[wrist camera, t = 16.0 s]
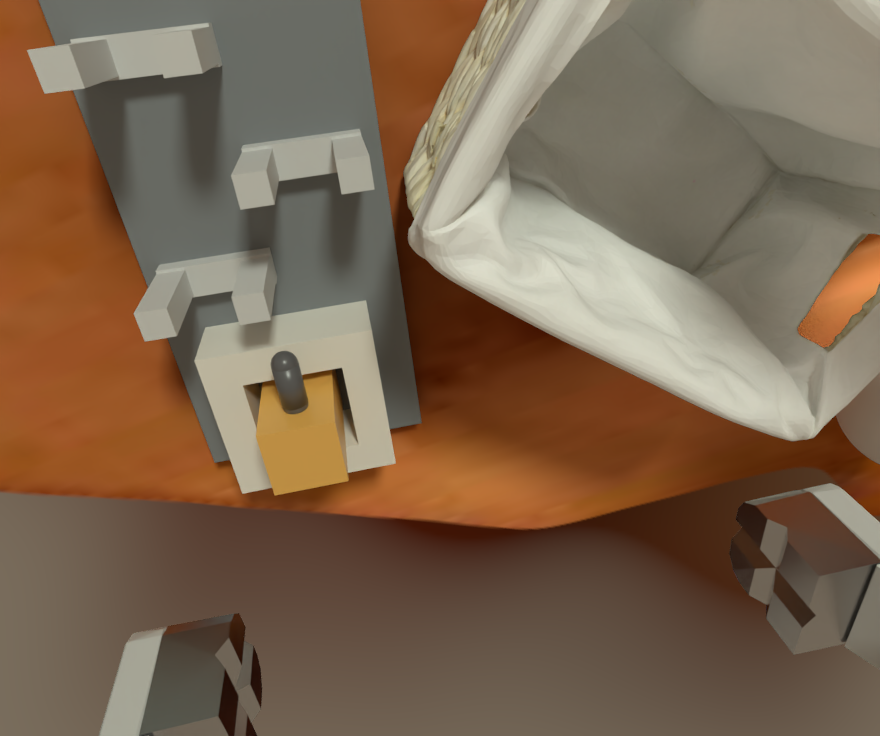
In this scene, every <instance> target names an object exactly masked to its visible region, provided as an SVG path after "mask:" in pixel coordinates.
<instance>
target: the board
mask: <svg viewBox="0 0 880 736" xmlns="http://www.w3.org/2000/svg"><path fill="white" fill-rule="evenodd" d="M39 3H40V5H41V8H42V10H43V13H44V16H45V18H46V21H47V24H48V26H49V29H50V31H51V34H52V37H53V39H54V42H55V45H56V46H51V47H44V48H38V49H31V50H27V51H28V54H29V56H30V59H31V61H32V64H33V66H34V69H35V71H36V74H37V76H38V79H39V81H40V83H41V86H42V88H43V91H44V93H45V94H46V93H53V92H61V91H69V90H73V92H74V94H75V97H76V100H77V102H78V105H79V108H80V110H81V113H82V115H83V118H84V121H85V123H86V126H87V129H88V131H89V134H90V136H91V139H92V142H93V144H94V147H95V149H96V152H97V155H98V157H99V160H100V163H101V165H102V168H103V170H104V173H105V176H106V178H107V181H108V184H109V186H110V189H111V191H112V194H113V197H114V199H115V202H116V205H117V207H118V210H119V212H120V215H121V218H122V220H123V223H124V226H125V228H126V231H127V233H128V236H129V239H130V241H131V244H132V247H133V249H134V252H135V254H136V257H137V260H138V262H139V265H140V268H141V270H142V273H143V275H144V278H145V281H146V283H147V286H148V289H147V291H146V293H145V295H144V296H143V298H142V300H141V302H140V303H139V305H138V307H137V309H136V310H135V312H134V316H135V318H136V321H137V323H138V326H139V328H140V331H141V333H142V336H143V338H144V341H151V340H157V339H163V338H168V341H169V344H170V346H171V349H172V351H173V354H174V357H175V359H176V362H177V365H178V367H179V370H180V372H181V375H182V378H183V380H184V383H185V386H186V388H187V391H188V393H189V396H190V399H191V401H192V404H193V407H194V409H195V412H196V414H197V417H198V420H199V422H200V425H201V427H202V430H203V433H204V435H205V438H206V441H207V443H208V446H209V448H210V451H211V454H212V456H213V459H214V462H215V463H216V462H221V461H227V460H230V461H231V463H232V466H233V469H234V472H235V474H236V477H237V480H238V483H239V485H240V488H241V491H242V494H244V493H249V492H254V491H259V490H264V489H269V488H272V486H271V483H270V479H269V476H268V473H267V470H266V467H265V464H264V461H263V458H262V455H261V452H260V449H259V446H258V442H257V439H256V430H257V422H258V415H259V407H260V399H261V391H262V383H263V382H265V381H271V380H274V377H273V373H272V370H271V365H270V364H271V359H272V357H273V356H274V355H275V354H276V353H278V352H280V351H289V352H291V353H293V354H294V355H295V356H296V357H297V359H298V362H299V366H300V370H301V374H302V375H304V374H309V373H315V372H321V371H326V370H332V369H335V371H336V375H337V380H338V384H339V389H340V393H341V398H342V404H343V416H344V429H345V441H346V453H347V466H348V473H350V472H355V471H360V470H365V469H370V468H375V467H380V466H385V465H390V464H395V463H396V462H395V456H394V451H393V445H392V440H391V434H390V429H393V428H399V427H404V426H409V425H414V424H419V423H422V422H421V415H420V408H419V401H418V394H417V388H416V381H415V374H414V367H413V360H412V353H411V346H410V340H409V333H408V326H407V319H406V312H405V305H404V298H403V292H402V285H401V278H400V271H399V264H398V257H397V250H396V244H395V237H394V230H393V223H392V216H391V209H390V202H389V196H388V189H387V182H386V175H385V168H384V161H383V154H382V148H381V141H380V134H379V127H378V120H377V113H376V106H375V100H374V93H373V86H372V79H371V72H370V65H369V58H368V52H367V45H366V38H365V31H364V24H363V17H362V10H361V4H360V0H39Z"/></svg>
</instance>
